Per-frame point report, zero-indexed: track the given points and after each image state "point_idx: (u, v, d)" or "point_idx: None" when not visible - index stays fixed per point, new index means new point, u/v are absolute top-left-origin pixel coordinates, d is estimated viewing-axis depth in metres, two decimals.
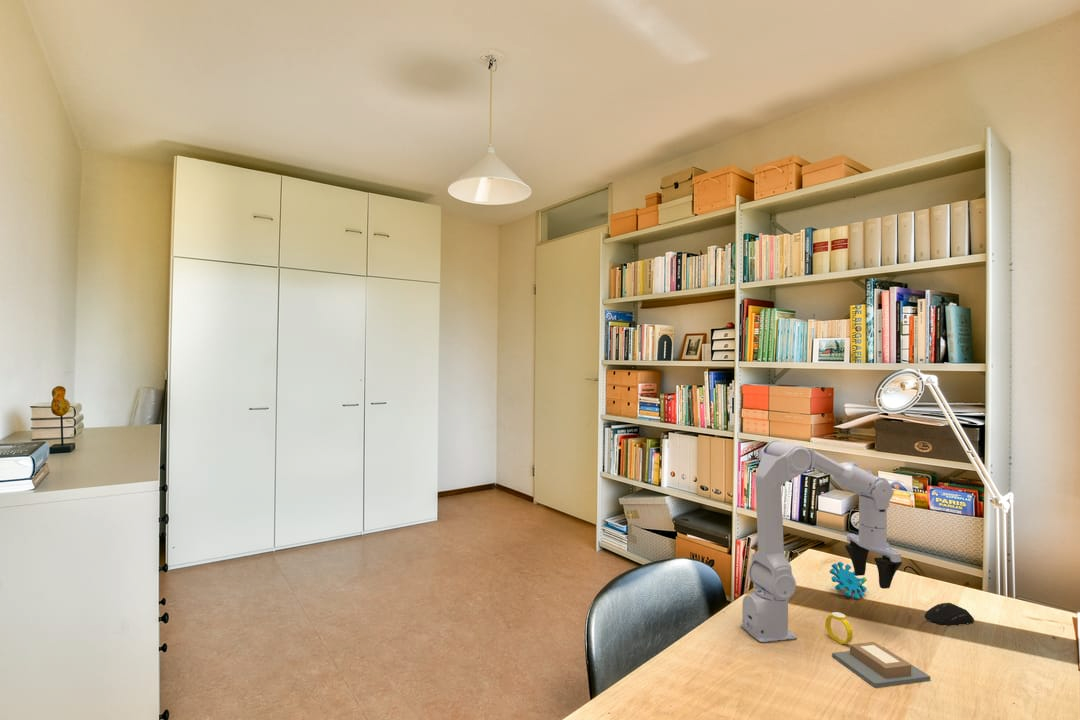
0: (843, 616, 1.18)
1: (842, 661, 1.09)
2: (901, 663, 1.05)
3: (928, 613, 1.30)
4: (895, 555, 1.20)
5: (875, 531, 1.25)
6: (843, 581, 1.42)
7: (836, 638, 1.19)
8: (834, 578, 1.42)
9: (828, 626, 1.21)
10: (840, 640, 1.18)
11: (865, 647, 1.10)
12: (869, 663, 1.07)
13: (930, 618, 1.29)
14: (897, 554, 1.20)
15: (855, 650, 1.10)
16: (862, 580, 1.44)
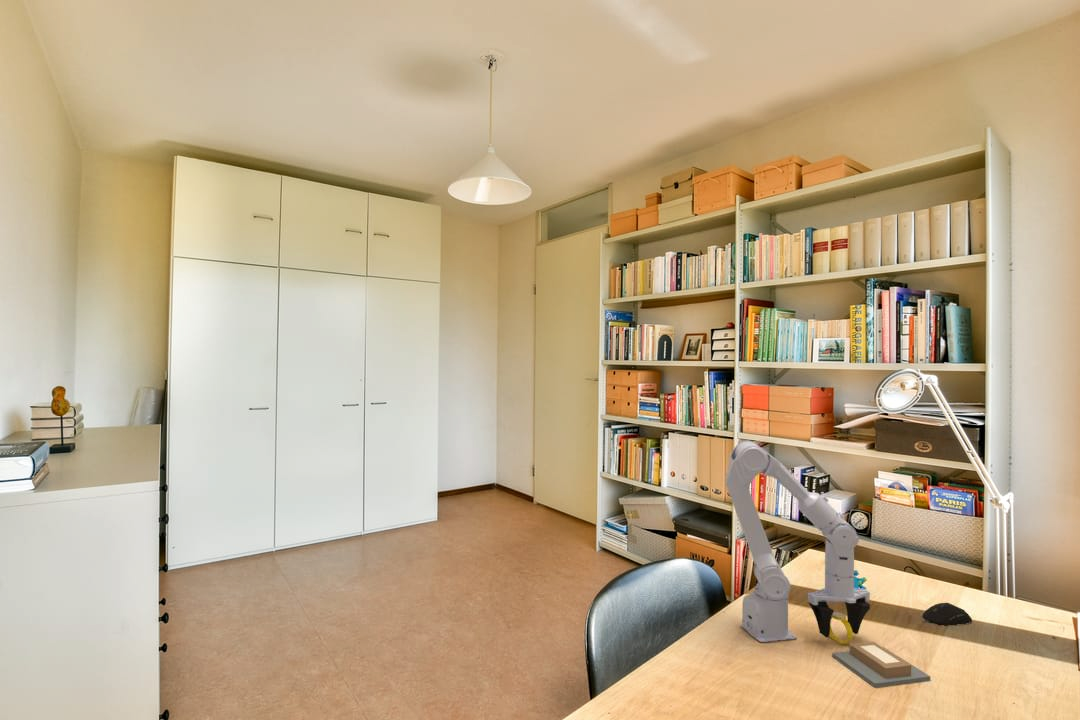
0: (843, 616, 1.18)
1: (842, 661, 1.09)
2: (901, 663, 1.05)
3: (926, 613, 1.30)
4: (809, 595, 1.18)
5: (825, 574, 1.20)
6: None
7: (836, 638, 1.19)
8: None
9: None
10: (840, 640, 1.18)
11: (865, 647, 1.10)
12: (869, 663, 1.07)
13: (928, 618, 1.28)
14: (811, 595, 1.17)
15: (855, 650, 1.10)
16: (862, 580, 1.44)
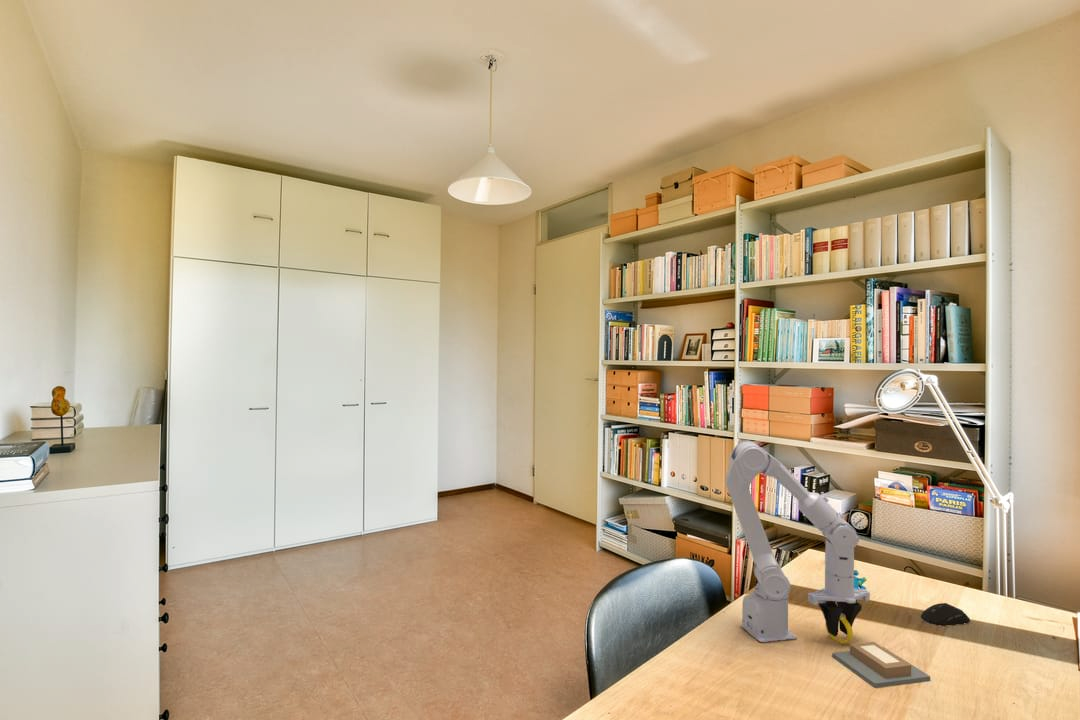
0: (843, 616, 1.18)
1: (842, 661, 1.09)
2: (901, 663, 1.05)
3: (924, 614, 1.30)
4: (809, 595, 1.18)
5: (825, 574, 1.20)
6: None
7: (836, 638, 1.19)
8: None
9: None
10: (840, 639, 1.18)
11: (865, 647, 1.10)
12: (869, 663, 1.07)
13: (926, 619, 1.28)
14: (811, 595, 1.17)
15: (855, 650, 1.10)
16: (862, 580, 1.44)
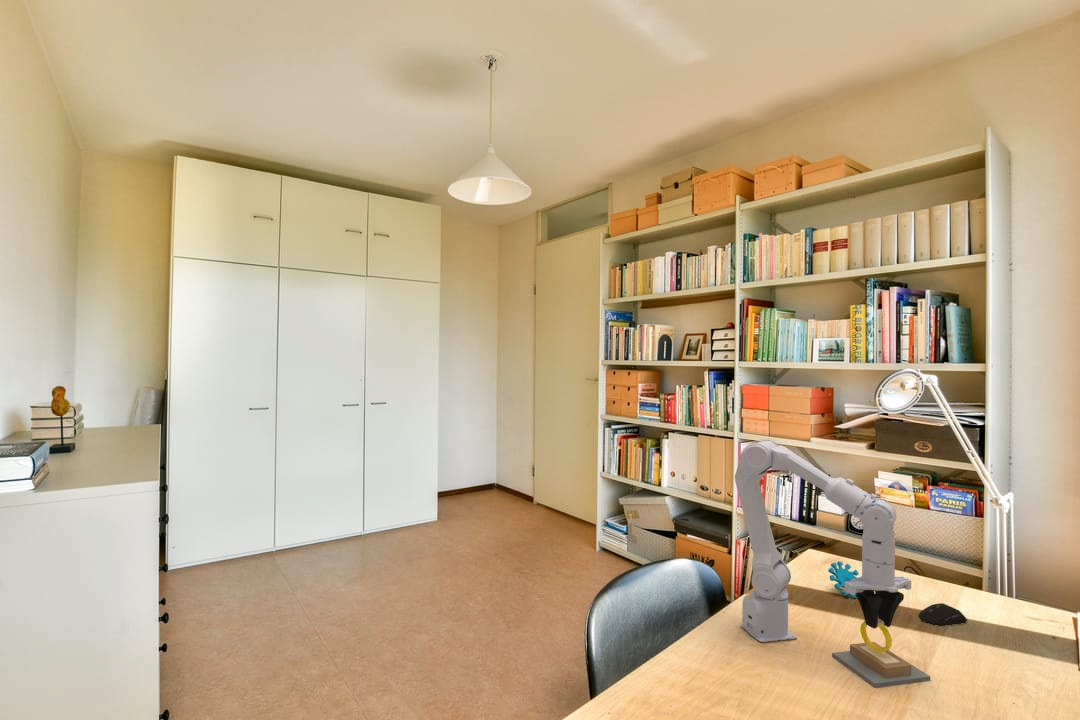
0: (882, 623, 1.08)
1: (842, 661, 1.09)
2: (901, 663, 1.05)
3: (921, 614, 1.30)
4: (846, 584, 1.08)
5: (862, 561, 1.10)
6: (841, 580, 1.43)
7: (872, 645, 1.09)
8: (832, 577, 1.43)
9: (863, 631, 1.11)
10: (876, 647, 1.09)
11: (865, 647, 1.10)
12: (869, 663, 1.07)
13: (924, 619, 1.28)
14: (848, 584, 1.07)
15: (855, 650, 1.10)
16: None
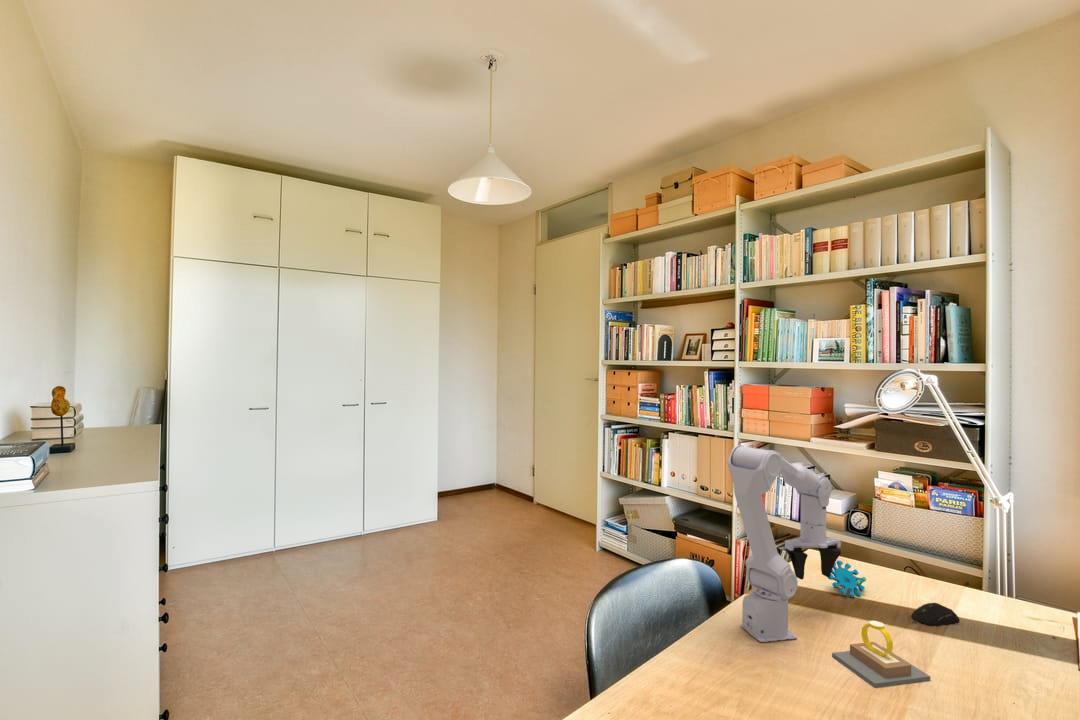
0: (882, 625, 1.08)
1: (842, 661, 1.09)
2: (901, 663, 1.05)
3: (915, 613, 1.30)
4: (786, 542, 1.30)
5: None
6: (840, 579, 1.44)
7: (874, 649, 1.09)
8: (830, 576, 1.44)
9: (865, 636, 1.11)
10: (878, 651, 1.08)
11: (865, 647, 1.10)
12: (869, 663, 1.07)
13: (917, 619, 1.28)
14: (788, 542, 1.30)
15: (855, 650, 1.10)
16: (861, 579, 1.45)
